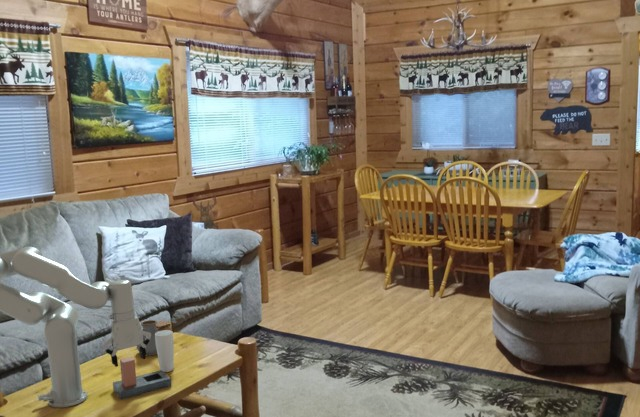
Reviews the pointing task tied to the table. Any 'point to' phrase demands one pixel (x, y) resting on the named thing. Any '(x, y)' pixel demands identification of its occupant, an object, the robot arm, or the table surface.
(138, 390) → the square hole plate
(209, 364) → the table surface
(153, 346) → the coffee pot
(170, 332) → the drinking glass
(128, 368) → the square peg
